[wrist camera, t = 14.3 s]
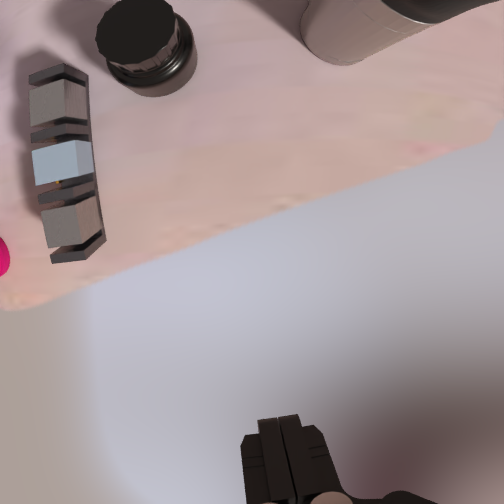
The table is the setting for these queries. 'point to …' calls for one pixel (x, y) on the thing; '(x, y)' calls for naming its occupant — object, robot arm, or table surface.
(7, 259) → the pepper mill
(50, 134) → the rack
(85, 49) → the table surface
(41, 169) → the light grey block
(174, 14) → the ink bottle
